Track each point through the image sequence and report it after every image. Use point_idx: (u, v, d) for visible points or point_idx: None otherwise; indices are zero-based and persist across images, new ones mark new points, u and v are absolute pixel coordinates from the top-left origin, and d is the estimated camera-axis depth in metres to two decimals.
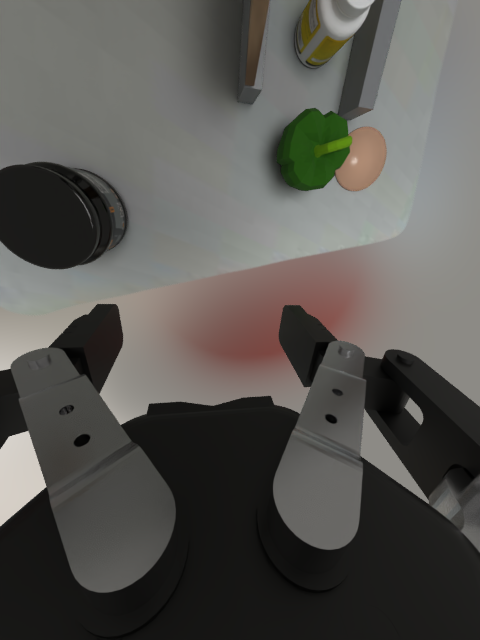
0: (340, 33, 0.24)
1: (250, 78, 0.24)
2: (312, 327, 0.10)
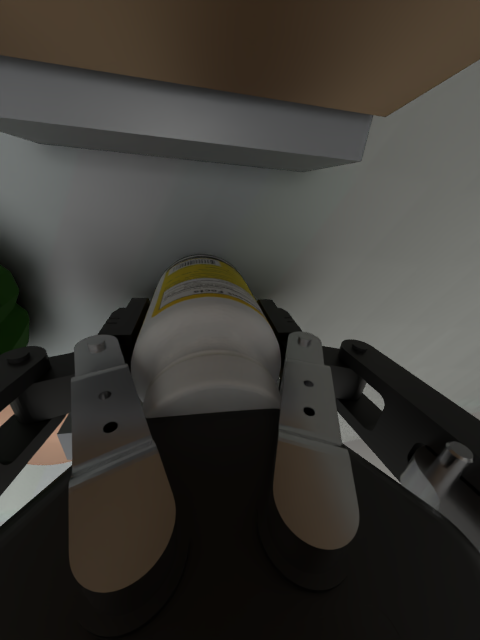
0: (133, 380, 0.08)
1: None
2: (278, 319, 0.10)
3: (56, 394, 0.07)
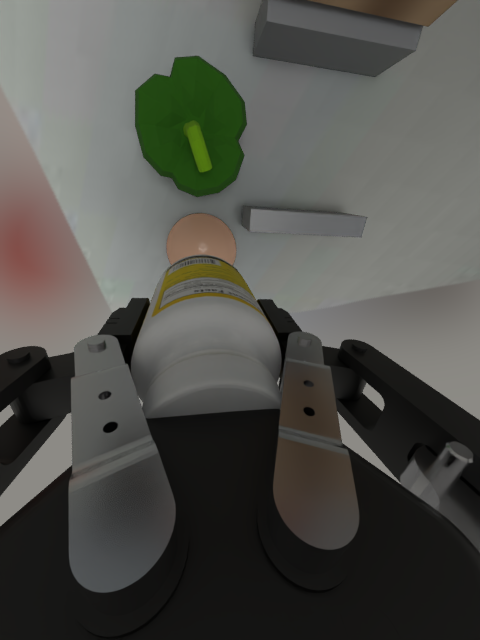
0: (133, 380, 0.08)
1: None
2: (278, 319, 0.10)
3: (56, 394, 0.07)
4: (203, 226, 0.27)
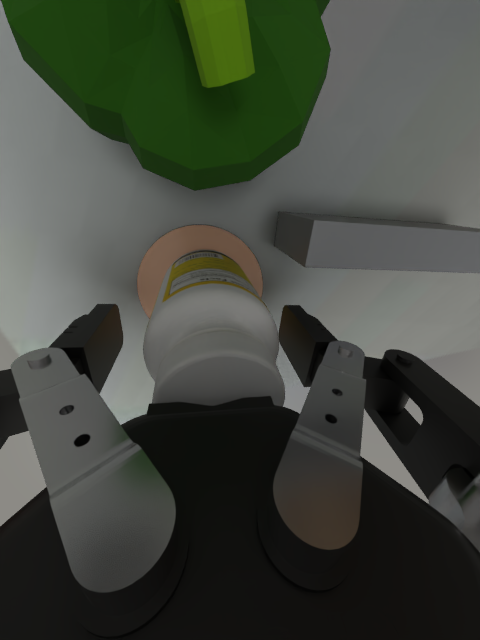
0: (146, 358, 0.09)
1: None
2: (312, 327, 0.10)
3: None
4: (204, 248, 0.14)
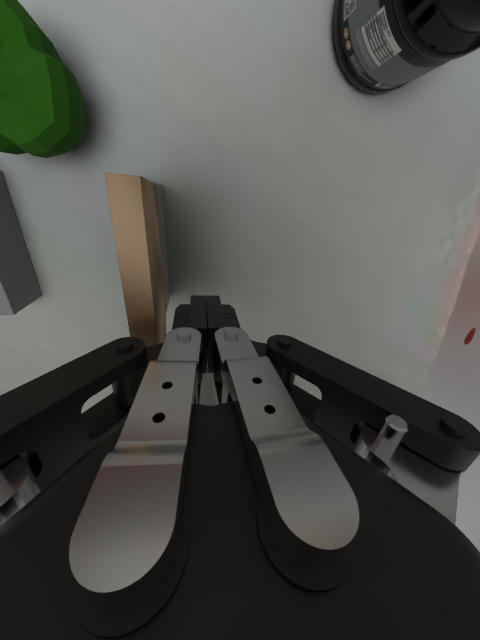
0: None
1: None
2: (215, 315, 0.10)
3: None
4: None
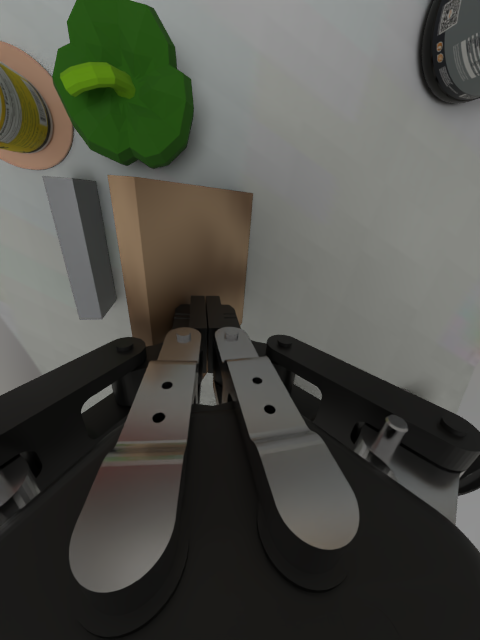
0: None
1: None
2: (215, 315, 0.10)
3: None
4: (52, 117, 0.20)
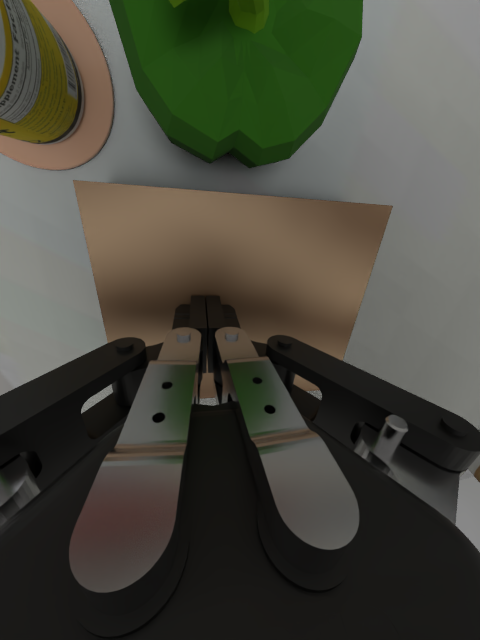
0: None
1: None
2: (215, 315, 0.10)
3: None
4: (84, 86, 0.12)
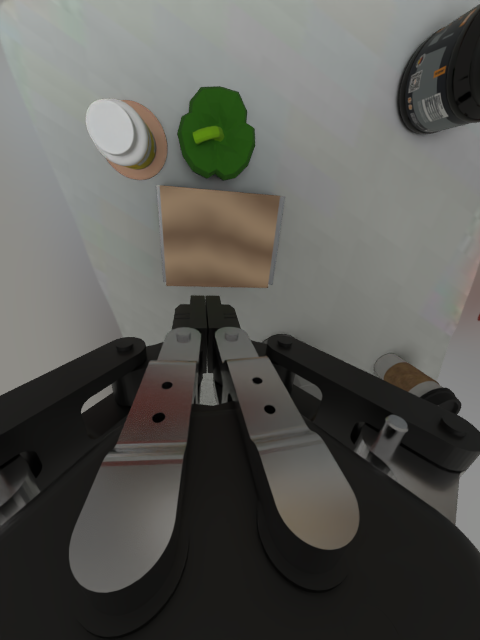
0: (114, 99, 0.23)
1: None
2: (215, 315, 0.10)
3: None
4: (156, 146, 0.30)
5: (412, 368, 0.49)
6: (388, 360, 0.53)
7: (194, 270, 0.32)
